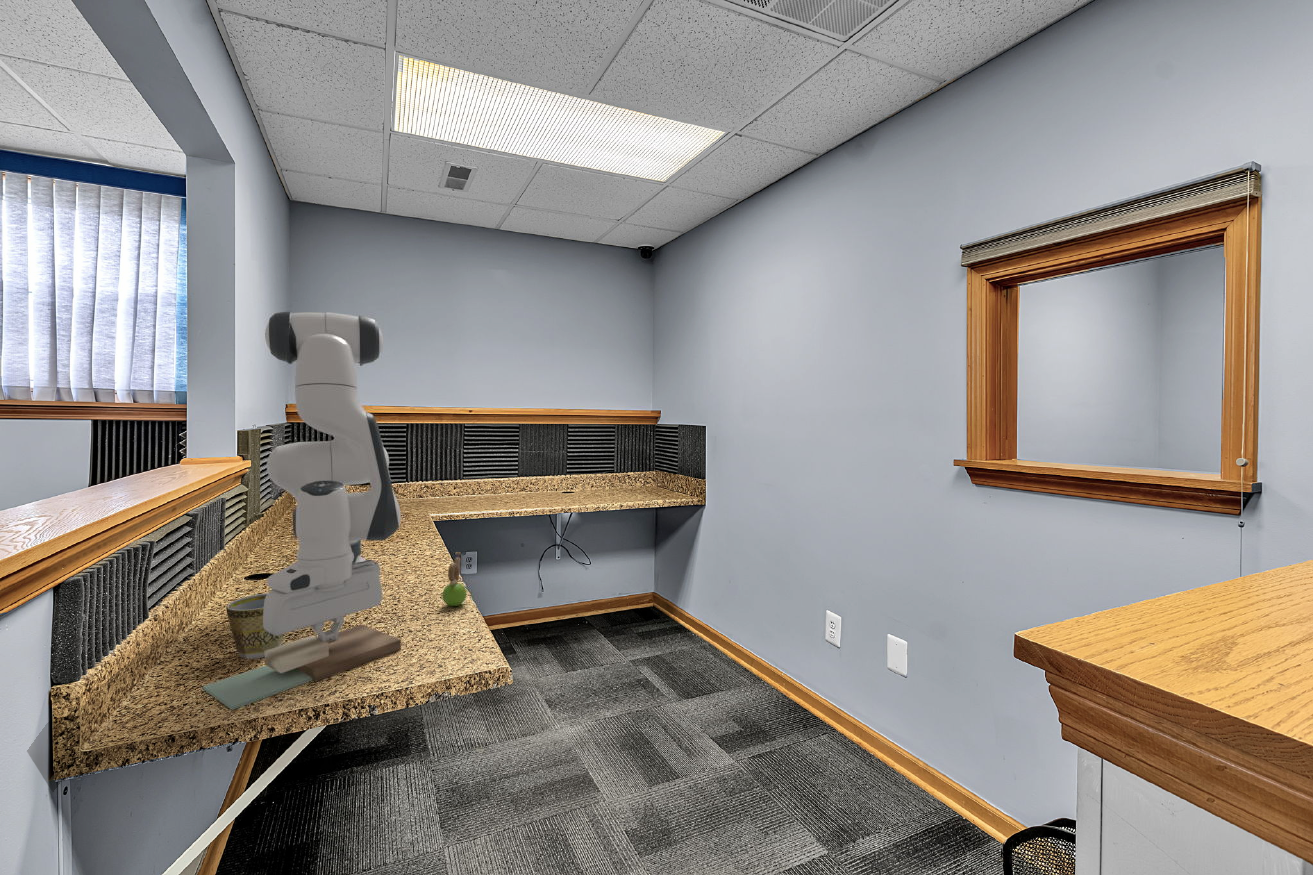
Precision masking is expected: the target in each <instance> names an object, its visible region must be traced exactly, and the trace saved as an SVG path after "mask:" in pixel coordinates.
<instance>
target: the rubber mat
mask: <svg viewBox="0 0 1313 875" xmlns="http://www.w3.org/2000/svg"><path fill="white" fill-rule="evenodd" d="M311 681H313V680H312V677H310V676H309V675H307V674H305V673H303V672H301V671H299V670H297V669H296V668H295V669H292V670H289V671H286V672H284V673H279V672H277V671H276V670H274V669H272V668H270V667H268V666H266V665H263V666H260V667H257V668H253V669H251V670H248V671H247V670H246V671H245V672H242V673H239V674H235V675H233V676H229V677H225V679H224V678H223V679H221V680H218V681H214V682H211V683H208V684H206V685H203V686H202V690H203V691H204V692H206V693H207V694H209V695H210V696H212V697H213V698H214V699H216V700H217V701H218V702H220V703H221V704H223V705H224V706H225V707H227V709H230V711H232V710H236V709H238V708H241V707H244V706H247V705H250V704H253V703H254V702H258V701H260V700H262V699H265V698H268V697H272V696H274V695H276V694H280V693H282V692H285V691H286V690H289V689H292V688H295V687H297V686H301V685H304V684H306V683H309V682H311Z"/></svg>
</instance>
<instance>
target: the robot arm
mask: <svg viewBox="0 0 1313 875" xmlns="http://www.w3.org/2000/svg"><path fill="white" fill-rule="evenodd" d="M264 331H265V332H264V338H265V343H266V345H267V347H268V350H270V354H271V355H272V356H273V357H274V358H276V359H277V360H279V361H282V362H286V363H287V364H289V365H292V364H293V363H294V362H296V364H295V373H294V374H295V375H294V397H295V406H296V410H297V411H296V412H297V414H298V416H299V417H300V419H301V420H302V421H303V422H304V423H305V424H307V425H308V426H309V427H311V428H313V429H314V430H316V431H319V432H321V433H324V434H327V435H330V436H332V437H333V439H332V440H327V441H326V440H325V441H324V440H323V441H321V440H320V441H297V442H291V443H287V444H282V445H279V446H276V447H275V448H274V449H273V450H272V451H271V452H270V454H269V455H268V457H267V461H266V471H267V474H268V476H269V478H270V480H271V482H273V483H274V484H275V485H276V486H278V487H279V488H280V489H281V488H282V489H283V490H284V491H287V493H289V494H290V495H291V496H292V497H293V498H294V499H295V500H296V507H295V508H294V509H293V511H292V532H293V533H292V534H293V535H294V537H295V538H297V540H298V550H297V554H296V560H297V561H295V562H294V563H292V564H290V565H288V566H287V567H284V568H283V569H281V570H279V571H277V572H275V573H273V574H271V575H270V576H268V578H267V580H266V581H267V587H269V588H271V590H269V591H268V592H267V593H268V594H267V593H266V594H267V595H266V597H265V601H264V608H263V627H264V629H265V630H266V631H267V632H268V633H270V634H272V635H275V636H278V635H282V634H283V635H284V634H287V633H291V632H294V631H298V630H301V629H305V628H308V627H310V628H311V629H312V631H313V632H314V633H315V634H316V635H317V638H318V639H321V640H323V641H325V642H327V643H332V642H335V641H338V632H340V631H341V628H342V626H343V624H344V622H345V616H347V615H352V614H355V613H357V612H362V611H365V610H369V609H371V608H374V607H378V606H380V604H381V603H382V601H383V598H384V596H383V589H382V584H381V578H380V574H381V568H380V567H381V566H380V564H379V563H378V562H377V561H375V560H372V559H365V558H364V557H362V556H361V554H362V548H363V547H362V541H386V540H387V539H389V538H390V537H391V536H393V535H394V534H395V533H396V532H397V531H398V530H399V528H400V525H401V519H402V515H401V514H402V512H401V508H400V504H399V501H398V499H397V496H396V493H395V492H394V490H393V485H392V481H391V480H392V479H391V475H390V470H389V465H390V457H389V453H388V452H387V450H386V448H385V447H384V443H383V440H382V436H381V433H380V429H379V425H378V422H377V421H376V418H375V416H374V415H373V414H372V413H371V412H367V411H366V410H365V408H364V407H363V405H362V404H361V402H360V401H361V400H360V398H359V395H358V378H357V370H356V369H357V368H356V364H359V366H360V367H361V366H362V367H363V365H366V364H371V363H373V362H374V361H376V360H378V358H380V354H381V352H382V350H383V348H384V347H383V346H384V337H383V336H384V335H383V332H382V330H381V328H380V326H379V323H378V322H377V321H376V320H375V319H374V318H371V317H368V316H364V315H359V316H356V315H351V314H346V313H345V314H344V313H340V312H339V313H337V312H331V311H330V312H329V311H327V312H312V311H311V312H308V311H307V312H292V311H281V312H275V313H274V314H272V315H271V317H269V320H268V323H267V325H266V327H265V330H264ZM367 483H369V485H370V488H369V490H367V491H363V492H349V493H348V492H347V489H346V487H345V486H351V485H362V484H363V485H364V484H367ZM328 621H331V622H332V625H331V627H330V629H329V630H328V631H326V632H324V631H323V628H324V627H325V622H328Z"/></svg>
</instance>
